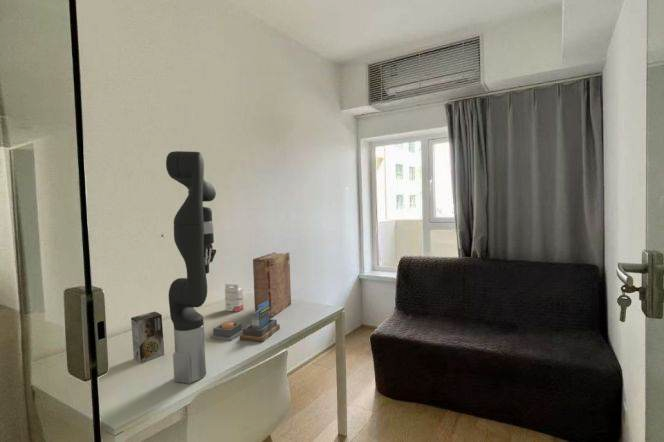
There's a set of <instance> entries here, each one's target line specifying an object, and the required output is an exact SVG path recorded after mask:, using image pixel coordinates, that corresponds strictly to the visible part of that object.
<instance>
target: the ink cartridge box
mask: <svg viewBox="0 0 664 442" xmlns="http://www.w3.org/2000/svg"><path fill="white" fill-rule="evenodd" d="M224 296H225V297H224V299H225V311H226V312H238V313H239V312H240V311H241V312H242V311H243V310H244V292H243V288H242V287H240V288H239V285H238V284H225V285H224Z"/></svg>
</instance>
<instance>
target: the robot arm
mask: <svg viewBox="0 0 664 442" xmlns="http://www.w3.org/2000/svg"><path fill="white" fill-rule="evenodd" d="M204 162H205V160H204V157H203V154H202V153H201V152H199V151H187V150H186V151H183V150H182V151H177V150H175V151H171V152H168V154H167V156H166V158H165V166H166V172H167V174H168V176H169V177H170V178H171V179H173V181H174V180H175V181H177V182H178V183H179V184H180V185H183V186H184V187H186V188H187V190H188V192H187V194H188V195H187V196H186V198H185V201H184V202H183V203H182V204H181V206H180V207H179V209H178V211H177V212H176V213H175V215H174V218H173V240H174V244H175V245H176V248H177V250H178V251H179V253H180V256H181V257H182V258H183V261H184V265H185V269H186V277H179V278H176V279H175V280H173V281H172V282H171V284H170V286H169V289H168V304H169V313H170V314H169V316H170V320H171V322H172V324H173V336H174V337H173V338H174V352H173V353H172V362H173V363H172V364H173V381H174V382H175V383H181V384H182V383H183V384H189V385H190V384H192V383H194V382H196V381H197V382H198V381H200V380H201V379H203V378H205V376H206V374H207V369H206V368H207V366H206V347H205V328H204V326H205V325H204V323H205V322H204V317H203V315H202V314H201V313H199V312H198V311H197V310H196V309H195V308H199V307H202V305H204V304H205V302H206V300H207V297H208V281H207V274H210V264H211V263H213V261H214V259H215V255H216V253H217V250H216V249H215V248H213V247H214V246H213V244H214V242H215V240H214V237H215V236H214V224H213V223H214V222H213V211H212V209H211V208H210V207H207V206H204V205H203V204H204V203H203V202H206V203H207V202H212V201H214V200H215V198H216V196H217V194H216V189H215V187H214V185H212V183H210V182H207V181H206V180H205V178H204V176H205V165H204V164H205V163H204Z"/></svg>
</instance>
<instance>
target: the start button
mask: <svg viewBox="0 0 664 442" xmlns="http://www.w3.org/2000/svg"><path fill="white" fill-rule="evenodd" d="M234 323H235V322H233V321H224V322H221V325H222V328H227V329H230V328H232V327H233V326H234Z"/></svg>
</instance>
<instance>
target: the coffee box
mask: <svg viewBox="0 0 664 442" xmlns="http://www.w3.org/2000/svg"><path fill="white" fill-rule="evenodd" d="M162 316H163V315H162V314H161V313H159V312H157V311H152V312H148V313H144V314H140V315H136V316H132V317H131V318H130V321H131V336H132V352H133V360H135V361H137V362H138V363H140V364H141V363H144V362H147V361H150V360H152V359H156V358H158V357H161V356H163V355H165V344H164V331H163V330H164V327H163V317H162Z"/></svg>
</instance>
